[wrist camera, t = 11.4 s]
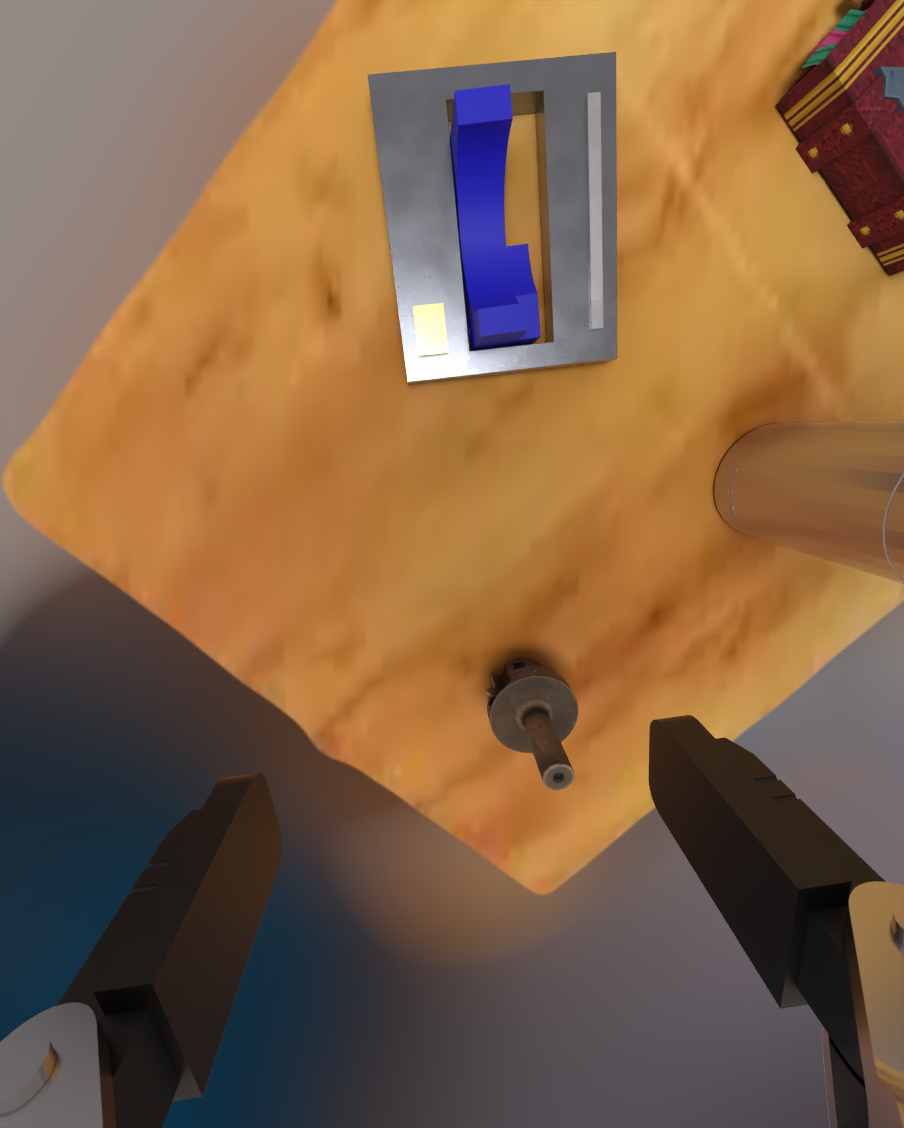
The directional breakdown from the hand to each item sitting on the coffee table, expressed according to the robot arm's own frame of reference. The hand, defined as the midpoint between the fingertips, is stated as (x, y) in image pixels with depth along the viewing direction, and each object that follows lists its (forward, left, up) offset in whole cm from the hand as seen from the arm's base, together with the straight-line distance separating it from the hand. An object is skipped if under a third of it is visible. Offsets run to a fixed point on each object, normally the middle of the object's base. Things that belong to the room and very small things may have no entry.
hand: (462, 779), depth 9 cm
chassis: (-7, -19, -28) cm, 35 cm away
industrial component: (-7, +16, -28) cm, 33 cm away
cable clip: (-7, -18, -28) cm, 34 cm away
